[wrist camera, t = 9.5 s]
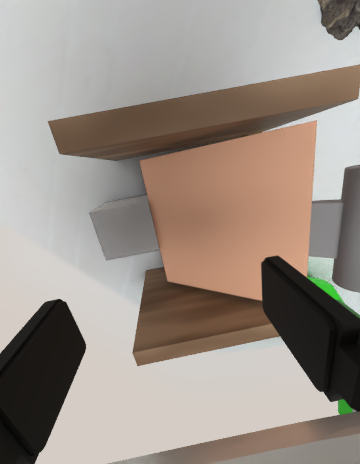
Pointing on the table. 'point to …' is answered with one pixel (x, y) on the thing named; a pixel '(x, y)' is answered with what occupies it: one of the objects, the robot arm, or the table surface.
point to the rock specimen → (340, 16)
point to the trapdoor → (250, 212)
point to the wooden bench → (186, 135)
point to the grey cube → (125, 227)
